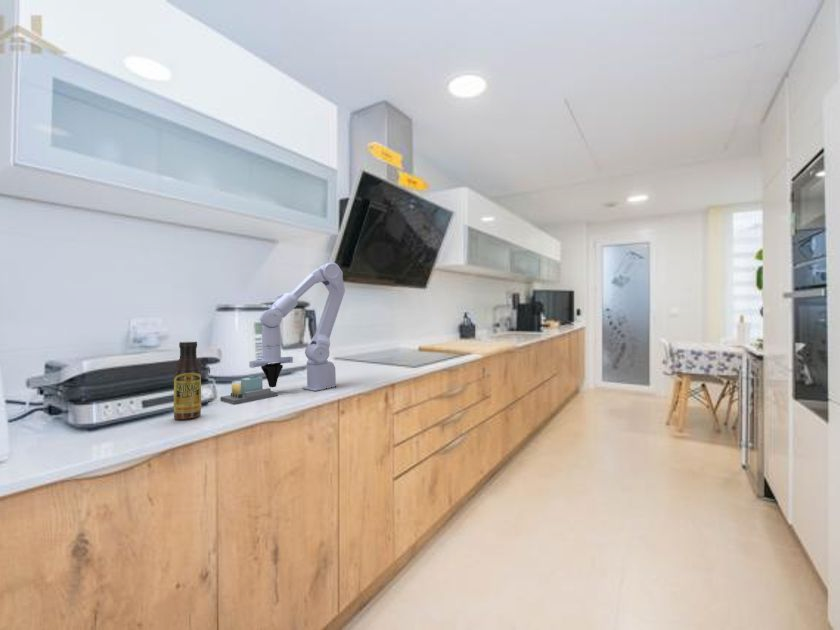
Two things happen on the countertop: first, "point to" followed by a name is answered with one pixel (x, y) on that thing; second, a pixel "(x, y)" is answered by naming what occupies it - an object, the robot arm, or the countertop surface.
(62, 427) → the countertop surface
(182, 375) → the sauce bottle
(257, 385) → the plug block
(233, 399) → the header board
